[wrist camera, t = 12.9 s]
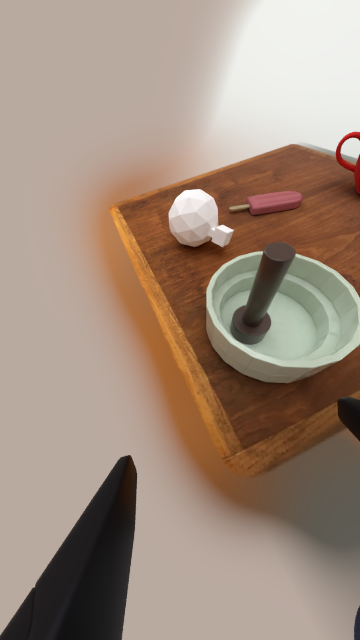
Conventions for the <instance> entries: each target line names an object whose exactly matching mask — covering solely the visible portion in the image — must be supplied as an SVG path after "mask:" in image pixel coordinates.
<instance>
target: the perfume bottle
mask: <svg viewBox="0 0 360 640" xmlns="http://www.w3.org/2000/svg"><path fill="white" fill-rule="evenodd" d="M168 214H169V224H170V231H171V233H172V234H173V235H174V236H175V237H176V239H177V240H178V241H179V242H180V243H181V244H185V245H189V246H193V247H196V246H198V245H201V244H203V243H205V242H207V241H209V240H210V239H211V238H212V240H211V241H212V242H214V243H216V244H218V245H219V246H221V247H223V246H225V245H227V244H229V241H230V239H231V236H232V234H233V231H234V230H232V229H230V228H228V227H226V226H224V225H221V226H218V208H217V206H216V203H215V201H214V198H213V197H211V196H210V195H208V194H207V193H205V192H204V191H202V190H200V189H198V190H186V191H184V192H183V193H181V194H180V195H179V196H178V197H177V198H176V200H175V202H174V203H173V205H172V207H171V209H170V211H169V213H168Z"/></svg>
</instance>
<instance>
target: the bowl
mask: <svg viewBox="0 0 360 640" xmlns="http://www.w3.org/2000/svg"><path fill="white" fill-rule="evenodd" d="M262 254H263V252H253V253H250V254H246V255H242V256H239V257H236V258H235V259H233V260H231V261H229V262H227V263H225V264H224V265H223V266H222V267H221V268H220V269H219V270H218V271H217V272H216V273H215V274H214V275H213V276H212V278H211V281H210V283H209V286H208V288H207V292H206V331H207V334H208V336H209V339H210V342H211V344H212V346H213V348H214V349H215V350H216V352H217V353H218V354H219V355H220V357H221V358H222V359H223V360H224V361H225V362H226V363H227V364H229V365H230V366H232V367H233V368H235V369H236V370H237V371H239V372H240V373H242V374H244V375H246V376H249V377H252V378H255V379H258V380H261V381H264V382H276V383H290V382H294V381H297V380H301V379H304V378H308V377H310V376H312V375H314V374H316V373H318V372H319V371H321V370H323V369H325V368H327V367H329V366H331V365H333V364H334V363H336V362H338V361H340V360H342V359H343V358H344V357H345V356H346V355H348V354H349V353H350V352H351V351H353V350H354V349H355V348H356V347H358V346H359V344H360V297H359V296H358V294H357V292H356V291H355V289H354V287H353V286H352V285H351V284H350V283H348V282H347V281H346V280H345V279H344V278H343V277H342V276H341V275H340V274H339V273H338V272H336V271H335V270H333V269H331V268H329V267H328V266H326V265H324V264H322V263H321V262H319V261H317V260H314V259H311V258H308V257H305V256H302V255H299V254H296V255H295V257H294V259H293V261H292V263H291V265H290V267H289V269H288V271H287V273H286V275H285V277H284V279H283V281H282V283H281V285H280V287H279V289H278V291H277V293H276V295H275V296H274V298H273V300H272V302H271V304H270V306H269V308H268V310H267V313H268V314H269V316H270V318H271V327H270V329H269V331H268V332H267V334H266V335H265V337H264V338H263V340H262V341H261V342H259V343H257V344H253V345H247V344H243V343H241V342H239V341H237V340H236V339H235V338H234V337H233V336H232V334H231V331H230V325H231V321H232V317H233V314H234V312H235V310H236V309H238V308H239V307H241V306H244V305H246V304H247V301H248V297H249V294H250V291H251V288H252V285H253V282H254V279H255V276H256V273H257V270H258V267H259V264H260V260H261V257H262Z"/></svg>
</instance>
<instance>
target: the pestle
mask: <svg viewBox="0 0 360 640" xmlns="http://www.w3.org/2000/svg"><path fill="white" fill-rule="evenodd" d="M295 255H296V251H295V249H294V248H293V247H292V246H291V245H289V244H286V243H281V242H275V243H271V244H269V245H267V246H266V247H265V248H264V251H263V254H262V257H261V260H260V264H259V267H258V270H257V273H256V276H255V279H254V282H253V285H252V288H251V291H250V294H249V297H248V301H247V304H246V305H244V306H241V307H239V308H238V309H236V310H235V312H234V314H233V317H232V321H231V325H230V331H231V334H232V336H233V337H234V338H235V339H236V340H237V341H239V342H241V343H243V344H247V345H253V344H257V343H259V342H261V341H262V340H263V338H264V337H265V335H266V334H267V332H268V331H269V329H270V327H271V318H270V316H269V314H268V313H267V310H268V308H269V306H270V304H271V302H272V300H273V298H274V296H275V295H276V293H277V291H278V289H279V287H280V285H281V283H282V281H283V279H284V277H285V275H286V273H287V271H288V269H289V267H290V265H291V263H292V261H293V259H294V257H295Z"/></svg>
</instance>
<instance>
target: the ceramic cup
mask: <svg viewBox="0 0 360 640" xmlns="http://www.w3.org/2000/svg"><path fill="white" fill-rule="evenodd" d="M349 138H357V139H359V140H360V132H352V133H349V134H347V135H346V136H345V137H344V138H343V139H342V140H341V141H340V142H339V144H338V146H337V149H336V159H337V161H338V163H339V164H340V165H341V166H343V167H344V168H346V169H348V170H350V171H352V172H354V173H355V174H354V177H355V185H356V188H357V189H356V191H357V193H358V194H360V155H359V158H358V160H357V163H356V166H354V165H351V164H349V163H347V162H346V161H344V160H343V158H342V157H341V153H340V151H341V146H342V144H343V143H344V142H345V141H346V140H347V139H349Z"/></svg>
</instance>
